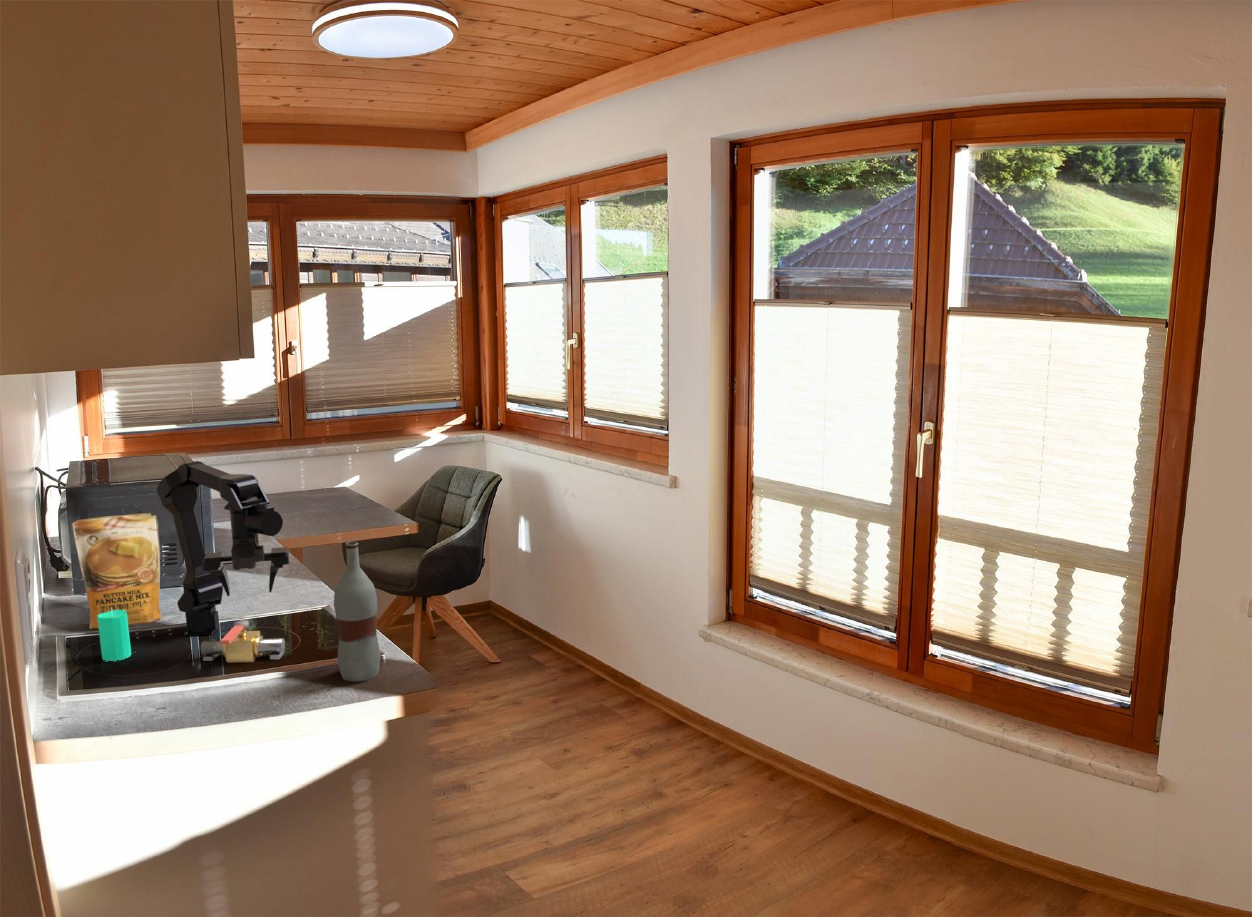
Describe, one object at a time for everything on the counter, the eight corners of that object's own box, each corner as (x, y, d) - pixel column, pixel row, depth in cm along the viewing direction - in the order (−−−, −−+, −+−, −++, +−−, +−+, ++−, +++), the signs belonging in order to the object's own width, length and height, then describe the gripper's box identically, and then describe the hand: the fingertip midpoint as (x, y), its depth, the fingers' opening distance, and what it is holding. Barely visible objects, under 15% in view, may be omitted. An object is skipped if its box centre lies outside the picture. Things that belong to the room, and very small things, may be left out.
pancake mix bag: (85, 624, 242) (72, 517, 237) (167, 612, 250) (157, 509, 245) (82, 633, 236) (69, 524, 231) (167, 621, 244) (156, 515, 239)
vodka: (382, 679, 207) (374, 546, 201) (338, 685, 204) (329, 550, 198) (380, 663, 215) (373, 535, 210) (338, 668, 213) (329, 539, 207)
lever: (236, 625, 220) (236, 620, 220) (250, 624, 220) (250, 619, 220) (217, 645, 208) (217, 640, 207) (232, 644, 208) (232, 639, 208)
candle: (102, 663, 217) (96, 613, 215) (102, 654, 222) (96, 605, 220) (131, 658, 220) (125, 609, 217) (131, 649, 225) (125, 601, 223)
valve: (199, 663, 216) (196, 634, 215) (209, 653, 222) (206, 625, 221) (280, 661, 217) (277, 632, 216) (287, 650, 223) (285, 622, 222)
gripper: (196, 542, 210) (202, 609, 213) (285, 535, 215) (289, 601, 218) (203, 529, 221) (208, 593, 224) (287, 523, 226) (292, 586, 229)
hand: (249, 593), depth 223 cm, fingers open, 9 cm apart
